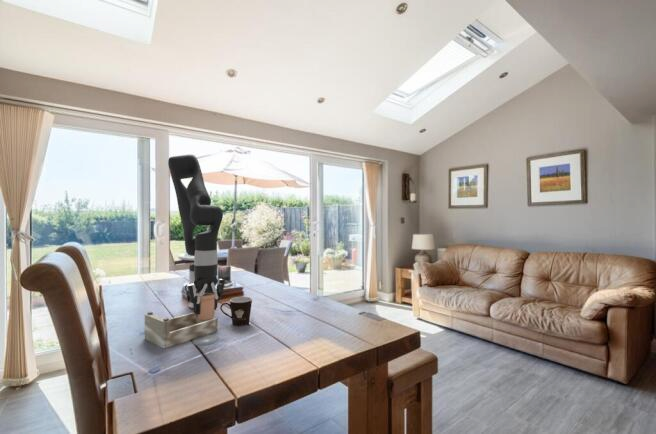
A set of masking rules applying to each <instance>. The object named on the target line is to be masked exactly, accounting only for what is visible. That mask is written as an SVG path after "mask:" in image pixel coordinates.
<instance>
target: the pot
mask: <svg viewBox="0 0 656 434" xmlns="http://www.w3.org/2000/svg"><path fill="white" fill-rule="evenodd" d="M199 294H200V293H199ZM197 297H198V296H197ZM214 301H215V294H214V293H212V292H207V293H204V295H203V296H201V297H200V314H199V315H197V319H199V320H208V319H212V318H215V310H214Z"/></svg>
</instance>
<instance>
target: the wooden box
mask: <svg viewBox="0 0 656 434" xmlns="http://www.w3.org/2000/svg"><path fill="white" fill-rule="evenodd" d="M218 322H219V320H218V318H216V317H214V318H212V319H208V320H199V319H197V315H196V314H195V313H194V312H191V313H187V314H186V313H185V314H183V315H179V316H175V317H171V318H169V317H165V318H163V317H161V316H160V315H156V314H155V313H154V312H152V311H148V312H147V313H146V314H144V340H147V341H148V342H150V343H152V344H154V345H156V346H158V347H160V348H163V349H165V348H167V349H168V348H170V347H173V346H176V345H179V344H182V343H185V342H187V341H190V340H191V341H192V340H194V339H195V338H197V337H200V336H205V335H210V334H211V333H214V332H217V331H218Z"/></svg>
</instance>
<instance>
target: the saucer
mask: <svg viewBox="0 0 656 434" xmlns="http://www.w3.org/2000/svg"><path fill="white" fill-rule="evenodd" d="M219 339H220V338H219V336H218V335H215V334H206V335H203V336H200V337H197V338H194V339H192V344H193V345H194V346H210V345H213V344H216V343H217V342H218V341H219Z"/></svg>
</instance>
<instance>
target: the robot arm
mask: <svg viewBox="0 0 656 434" xmlns="http://www.w3.org/2000/svg"><path fill="white" fill-rule="evenodd" d="M167 161H168V162H167V165H168V171H169V173H170V177H171V181H172V184H173V187H174V192H175V197H176V201H177V202H176V203H177V207H178V212H179V216H180V217H179V218H180V221H181V224H182V230H183V237H184V246H185V251H186V253H187V255H188V256H190V257H193V259H194V262H192V263H190V264H189V266H188V267H189V269H188V270H189V271H188V272H189V275H188V276H189V277H188V278H189V279H188V282H189V284H185V286H184V288H185V294H186V300H187V302H188V307H189V308H191V309H193V312H194V313H195V314H196V315H199V314H200V297H201V296H203V295H204V293H207V292H212V293H214V294H215V301H214V311H216V310H217V308H218V299H219V298H220V297H223V296H224V288H225V283H226V281H225V279H224V278H223V279H222V278H218V273H219V271H218V263H219V262H218V259H219V258H218V257H219V256H218V235H219V233H220V228H221V227H220V226H221V225H222V221H223V215H224V214H223V210H222V208H221V207H220V206H219V205H215V204H214V205H213V204H212V199H211V197H210V195H209V192H208V190H207V187H206V185H205V181H204V175H203V174H202V173H203V172H202V169H201V165H200V162H199V160H198V157H197V156H196V155H194V154H183V155H182V154H181V155H176V156H175V155H174V156H170V157H168V160H167ZM190 178H191V180H190V181H189V183H188V184H187V186H185V184H184V183H183V182H182V180H183V179H190ZM211 204H212V205H211ZM201 226H209V227H208V229H207V230H206V231H202V232H199V233H197V234H195V236H194V232H195V230H196V228H197V227H201ZM199 293H200V294H199ZM197 296H198V297H197ZM193 312H192V313H193Z"/></svg>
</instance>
